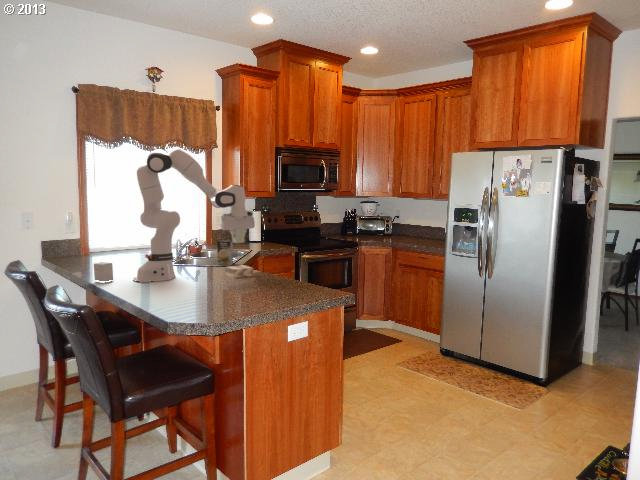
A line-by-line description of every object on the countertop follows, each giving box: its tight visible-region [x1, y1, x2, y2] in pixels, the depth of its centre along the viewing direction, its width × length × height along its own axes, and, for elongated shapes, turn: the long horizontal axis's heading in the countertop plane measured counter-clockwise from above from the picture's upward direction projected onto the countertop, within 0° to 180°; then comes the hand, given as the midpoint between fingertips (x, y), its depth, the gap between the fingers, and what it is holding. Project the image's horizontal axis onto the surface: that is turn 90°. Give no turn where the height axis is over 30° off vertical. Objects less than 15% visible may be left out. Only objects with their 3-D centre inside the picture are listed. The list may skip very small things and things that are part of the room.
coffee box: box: [216, 239, 234, 266], centre depth 312 cm, size 9×6×16 cm
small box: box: [93, 261, 114, 281], centre depth 254 cm, size 8×6×10 cm
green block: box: [231, 229, 245, 244], centre depth 272 cm, size 5×5×8 cm
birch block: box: [225, 264, 254, 279], centre depth 274 cm, size 12×12×5 cm
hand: (238, 237), depth 272 cm, fingers closed on green block, 5 cm apart
